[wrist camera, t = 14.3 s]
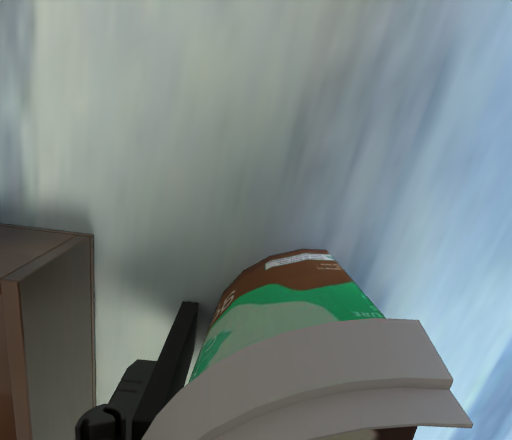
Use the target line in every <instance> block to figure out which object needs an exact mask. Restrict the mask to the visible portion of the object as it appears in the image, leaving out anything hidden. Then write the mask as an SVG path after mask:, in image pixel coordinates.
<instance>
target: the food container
mask: <svg viewBox="0 0 512 440" xmlns="http://www.w3.org/2000/svg"><path fill="white" fill-rule="evenodd" d="M452 382H453V378H452V376H451V375H450V373H449V371H448V369H447V368H446V366H445V364H444V363H443V361H442V359H441V357H440V356H439V354H438V352H437V351H436V349H435V347H434V345H433V344H432V342H431V340H430V339H429V337H428V335H427V333H426V332H425V330H424V328H423V327H422V325H421V323H420V321H419V320H407V319H386V318H385V317H384V315H383V314H382V313H381V312H380V311H379V310H378V309H377V307H376V306H375V305H374V304H373V303H372V302H371V301H370V299H369V298H368V297H367V296H366V295H365V294H364V293H363V291H362V290H361V289H360V288H359V287H358V286H357V284H356V283H355V282H354V281H353V280H352V279H351V278H350V276H349V275H348V274H347V273H346V272H345V271H344V270H343V268H342V267H341V266H340V265H339V264H338V263H337V262H336V260H335V259H334V258H333V257H332V256H331V255H330V254H329V252H328V251H327V250H315V249H299V250H295V251H290V252H286V253H281V254H276V255H272V256H269V257H267V258H266V259H264V260H262V261H260V262H258V263H256V264H255V265H253V266H251V267H249V268H247V269H246V270H244V271H243V272H242V273H241V274H240V275H239V276H238V277H237V278H236V279H235V280H234V281H233V282H232V284H231V285H230V286H229V287H228V288H227V289H226V290H225V291H224V293H223V295H222V297H221V299H220V301H219V304H218V306H217V308H216V310H215V313H214V316H213V318H212V321H211V324H210V326H209V329H208V332H207V334H206V337H205V340H204V342H203V345H202V348H201V350H200V353H199V356H198V359H197V361H196V364H195V367H194V369H193V372H192V375H191V377H190V380H189V383H188V384H187V385H186V386H185V387H183V388H182V389H181V390H180V391H179V392H178V393H177V394H176V395H175V396H174V397H173V398H172V399H171V400H170V401H169V402H168V404H167V405H166V406H165V407H164V408H163V409H162V410H161V411H160V412H159V413H158V414H157V416H156V417H155V419H154V420H153V422H152V423H151V425H150V427H149V428H148V430H147V431H146V433H145V435H144V436H143V438H142V439H141V440H413V437H414V434H415V432H416V429H417V426H436V427H457V428H472V426H473V423H472V421H471V420H470V419H469V417H468V416H467V414H466V413H465V411H464V410H463V408H462V407H461V406H460V404H459V403H458V401H457V400H456V398H455V397H454V396H453V394H452V393H451V391H450V390H449V389H450V387H451V385H452Z"/></svg>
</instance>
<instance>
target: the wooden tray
mask: <svg viewBox="0 0 512 440" xmlns="http://www.w3.org/2000/svg"><path fill="white" fill-rule="evenodd" d="M95 406H96V386H95V321H94V256H93V235H92V234H84V233H76V232H67V231H59V230H51V229H43V228H34V227H26V226H18V225H9V224H1V223H0V440H75V426H76V424H77V422H78V420H79V418H80V417H81V416H82V415H83V414H84V413H85V412H87V411H88V410H90V409H92V408H93V407H95Z"/></svg>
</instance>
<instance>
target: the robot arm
mask: <svg viewBox="0 0 512 440" xmlns="http://www.w3.org/2000/svg"><path fill="white" fill-rule="evenodd" d="M197 312H198V303H194V302H185V301H183V302H182V304H181V307H180V309H179V311H178V314H177V316H176V318H175V321H174V323H173V325H172V328H171V330H170V332H169V335H168V337H167V339H166V342H165V344H164V347H163V349H162V351H161V354H160V356H159V358H158V361H148V360H139V359H137V360H136V361H135V362H134V363H133V364H132V365H130V366H129V367H128V368H127V370H126V372H125V373H124V375H123V377H122V379H121V381H120V383H119V384H118V386H117V388H116V391H115V392H114V394H113V396H112V397H111V399H110V401H109V403H108V404H102V405H99V406H95V407H93V408H92V409H90V410H88V411H87V412H85V413H84V414H83V415H82V416H81V417H80V418H79V420H78V422H77V424H76V426H75V440H141V439H142V438H143V436H144V435H145V433H146V431H147V430H148V428H149V427H150V425H151V423H152V422H153V420H154V419H155V417H156V416H157V414H158V413H159V412H160V411H161V410H162V409H163V408H164V407H165V406H166V405H167V404H168V402H169V401H170V400H171V399H172V398H173V397H174V396H175V395H176V394H177V393H178V392H179V391H180V390H181V389H182V388H183V387H184V384H185V381H186V377H187V374H188V370H189V367H190V363H191V359H192V356H193V352H194V347H195V335H196V323H197Z"/></svg>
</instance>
